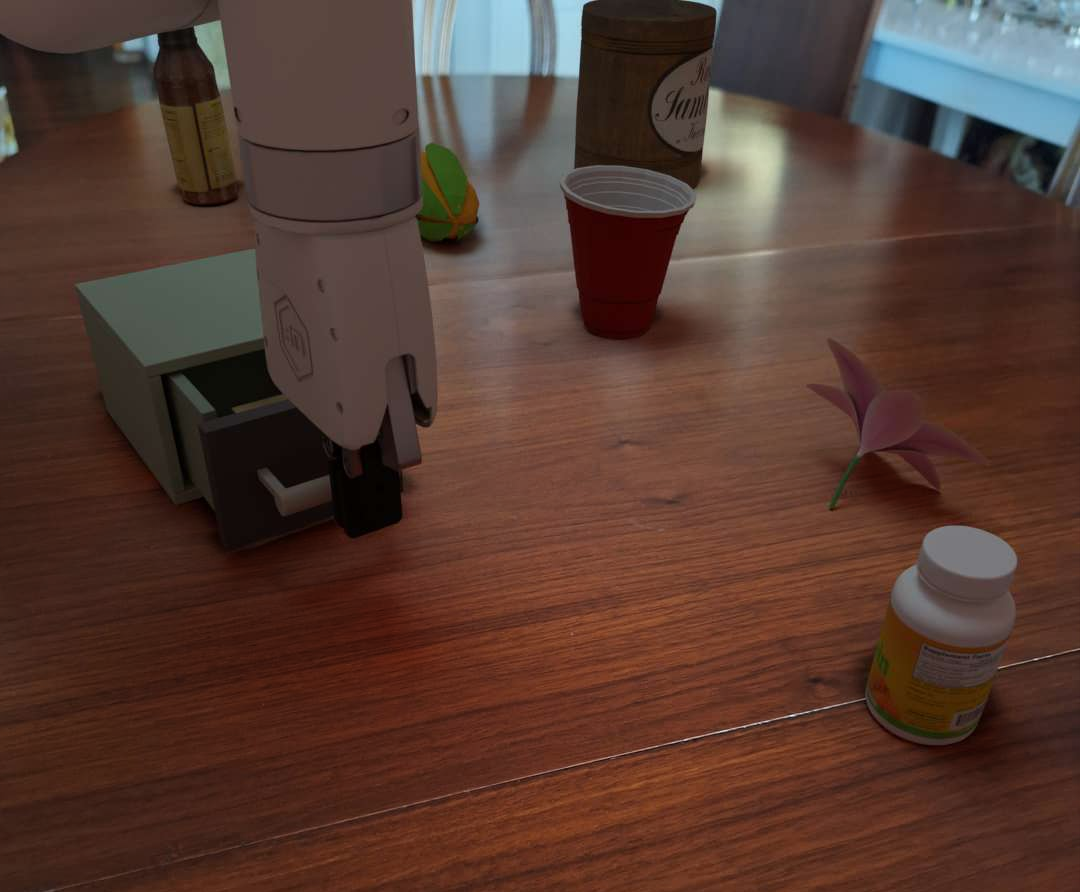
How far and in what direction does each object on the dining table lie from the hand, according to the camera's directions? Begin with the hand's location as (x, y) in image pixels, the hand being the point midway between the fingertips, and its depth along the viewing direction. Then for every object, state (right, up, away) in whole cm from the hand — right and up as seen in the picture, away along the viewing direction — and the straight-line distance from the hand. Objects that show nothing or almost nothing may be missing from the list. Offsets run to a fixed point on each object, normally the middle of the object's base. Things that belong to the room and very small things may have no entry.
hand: (369, 523), depth 55 cm
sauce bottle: (-27, +36, +58) cm, 74 cm away
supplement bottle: (+28, -9, -4) cm, 30 cm away
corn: (-2, +32, +53) cm, 62 cm away
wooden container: (+21, +42, +67) cm, 82 cm away
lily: (+31, +2, +13) cm, 33 cm away
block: (-7, +4, +9) cm, 12 cm away
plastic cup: (+16, +17, +33) cm, 40 cm away
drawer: (-7, +3, +10) cm, 12 cm away
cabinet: (-13, +7, +17) cm, 22 cm away
